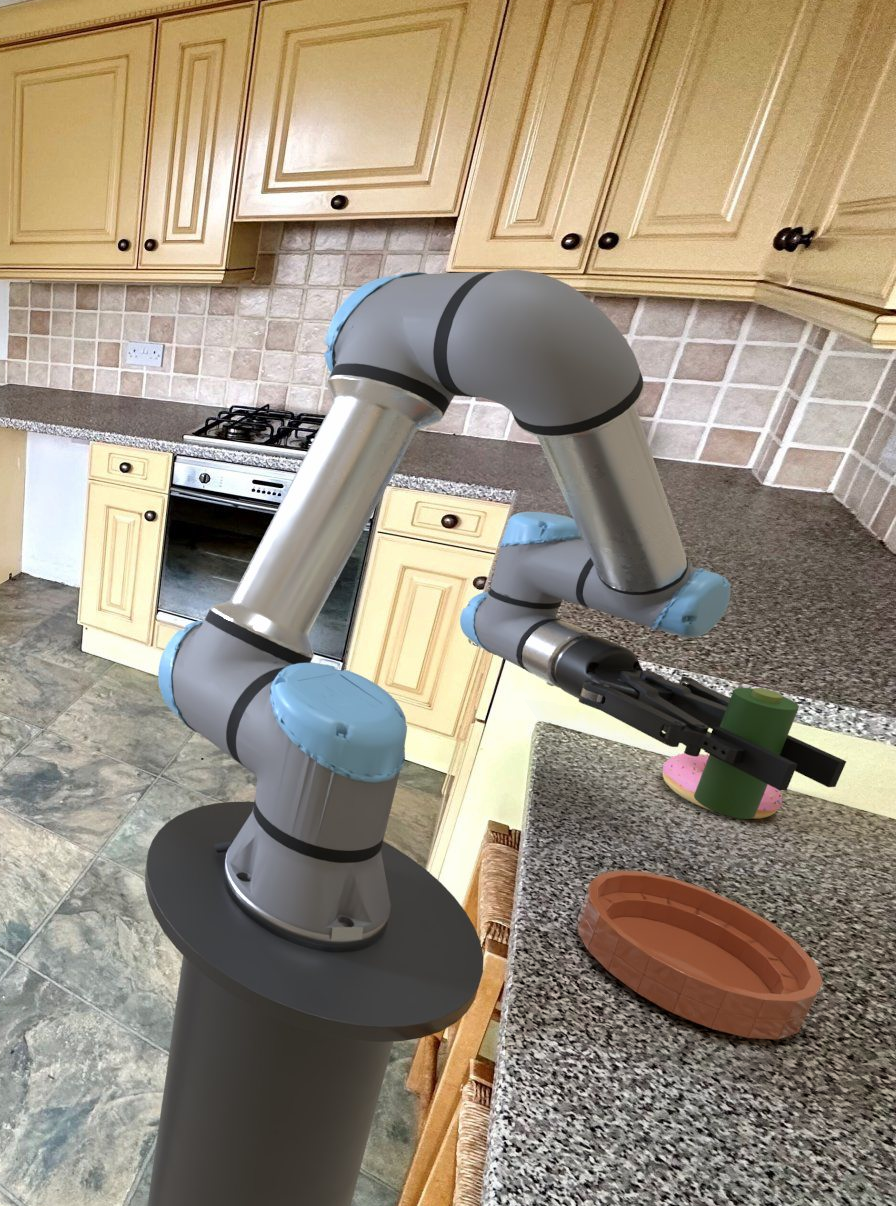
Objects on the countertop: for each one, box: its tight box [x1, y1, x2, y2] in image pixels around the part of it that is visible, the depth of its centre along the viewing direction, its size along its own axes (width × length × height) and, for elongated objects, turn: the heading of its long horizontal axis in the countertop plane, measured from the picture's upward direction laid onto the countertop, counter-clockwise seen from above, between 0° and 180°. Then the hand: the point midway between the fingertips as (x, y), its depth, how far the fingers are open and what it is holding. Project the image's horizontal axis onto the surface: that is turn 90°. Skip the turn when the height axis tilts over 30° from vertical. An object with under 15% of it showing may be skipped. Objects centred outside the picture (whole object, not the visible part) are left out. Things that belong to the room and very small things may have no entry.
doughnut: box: [662, 752, 784, 819], centre depth 98 cm, size 11×11×4 cm
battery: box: [694, 687, 800, 820], centre depth 75 cm, size 4×4×13 cm
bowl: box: [577, 869, 823, 1040], centre depth 71 cm, size 15×15×5 cm
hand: (812, 775), depth 70 cm, fingers closed on battery, 4 cm apart
